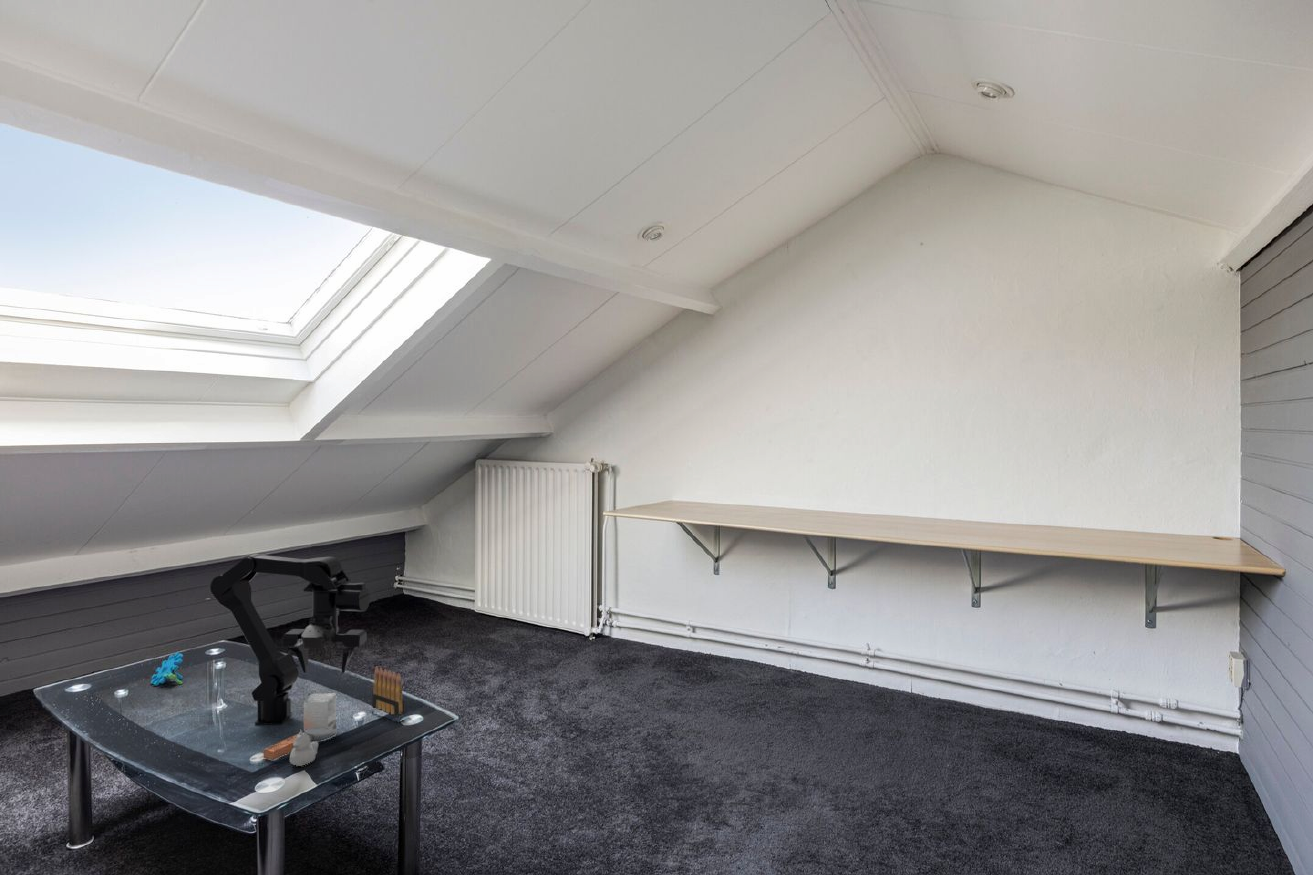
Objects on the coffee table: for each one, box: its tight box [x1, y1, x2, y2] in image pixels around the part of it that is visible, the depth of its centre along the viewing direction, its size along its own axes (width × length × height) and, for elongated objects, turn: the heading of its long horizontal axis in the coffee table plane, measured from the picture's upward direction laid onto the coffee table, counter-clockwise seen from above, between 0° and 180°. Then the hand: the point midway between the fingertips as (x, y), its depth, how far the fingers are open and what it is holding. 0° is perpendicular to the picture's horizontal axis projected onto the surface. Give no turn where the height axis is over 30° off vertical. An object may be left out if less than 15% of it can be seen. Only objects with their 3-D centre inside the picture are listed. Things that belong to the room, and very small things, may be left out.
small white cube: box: [303, 692, 337, 730], centre depth 182 cm, size 6×6×6 cm
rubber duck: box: [289, 728, 319, 767], centre depth 168 cm, size 5×7×8 cm
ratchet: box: [262, 719, 337, 760], centre depth 178 cm, size 18×7×6 cm, turn 155°
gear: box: [150, 652, 184, 686], centre depth 219 cm, size 11×6×10 cm
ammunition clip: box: [371, 665, 405, 715], centre depth 194 cm, size 11×2×12 cm, turn 55°
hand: (324, 672), depth 190 cm, fingers open, 9 cm apart
